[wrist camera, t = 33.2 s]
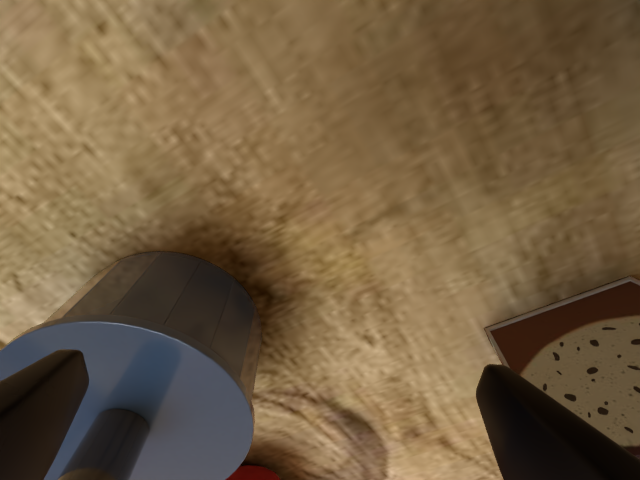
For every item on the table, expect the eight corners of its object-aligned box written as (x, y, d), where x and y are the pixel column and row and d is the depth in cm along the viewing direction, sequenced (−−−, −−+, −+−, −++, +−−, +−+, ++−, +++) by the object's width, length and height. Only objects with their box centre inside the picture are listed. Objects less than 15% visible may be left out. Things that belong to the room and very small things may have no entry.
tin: (51, 265, 20) (-55, 342, 14) (239, 238, 19) (212, 305, 14) (122, 400, 24) (64, 501, 18) (275, 379, 24) (266, 475, 18)
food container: (482, 396, 25) (581, 571, 16) (462, 336, 23) (565, 502, 14) (657, 338, 24) (875, 496, 15) (655, 267, 21) (915, 403, 12)
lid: (-51, 314, 14) (-255, 447, 9) (237, 295, 14) (200, 414, 9) (54, 489, 19) (-39, 641, 14) (269, 473, 19) (256, 617, 14)
